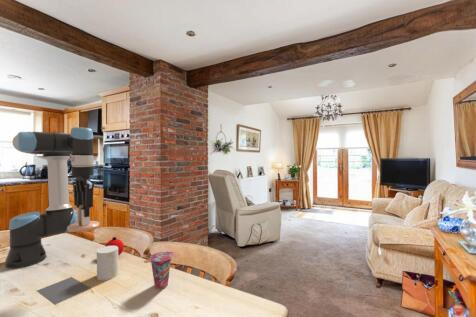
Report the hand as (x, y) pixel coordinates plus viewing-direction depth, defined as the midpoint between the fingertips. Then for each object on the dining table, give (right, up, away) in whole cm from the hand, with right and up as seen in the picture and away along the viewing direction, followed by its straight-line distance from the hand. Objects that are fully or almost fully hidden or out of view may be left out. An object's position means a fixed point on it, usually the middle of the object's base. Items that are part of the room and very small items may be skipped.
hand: (83, 223), depth 97 cm
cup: (+32, -25, 0) cm, 40 cm away
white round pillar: (+6, -25, +7) cm, 26 cm away
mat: (-5, -25, -4) cm, 26 cm away
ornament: (-1, -24, +27) cm, 36 cm away
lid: (0, -2, 0) cm, 2 cm away
